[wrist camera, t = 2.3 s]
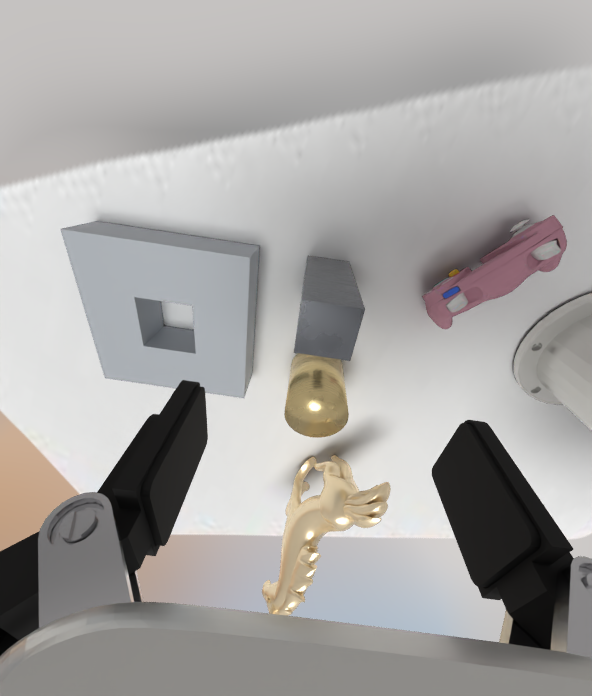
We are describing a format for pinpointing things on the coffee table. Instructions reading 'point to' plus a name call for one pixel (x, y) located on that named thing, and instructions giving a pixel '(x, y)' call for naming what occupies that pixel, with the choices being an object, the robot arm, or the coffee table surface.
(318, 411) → the round bit
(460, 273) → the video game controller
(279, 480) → the coffee table surface
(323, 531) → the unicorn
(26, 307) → the coffee table surface
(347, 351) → the square bit
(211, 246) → the socket block
